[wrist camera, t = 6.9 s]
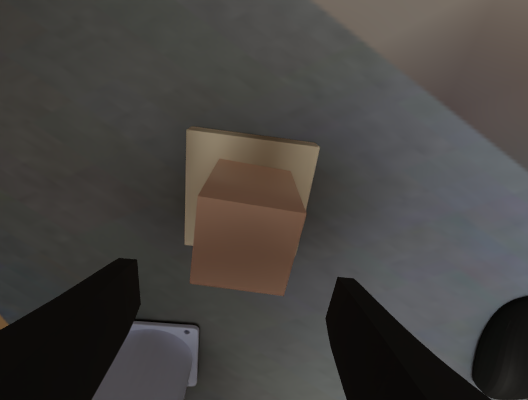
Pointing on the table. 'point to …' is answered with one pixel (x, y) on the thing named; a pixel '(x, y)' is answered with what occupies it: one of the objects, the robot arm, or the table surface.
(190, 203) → the base slab
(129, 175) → the table surface
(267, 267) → the block
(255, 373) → the table surface
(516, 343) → the computer mouse
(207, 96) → the table surface
